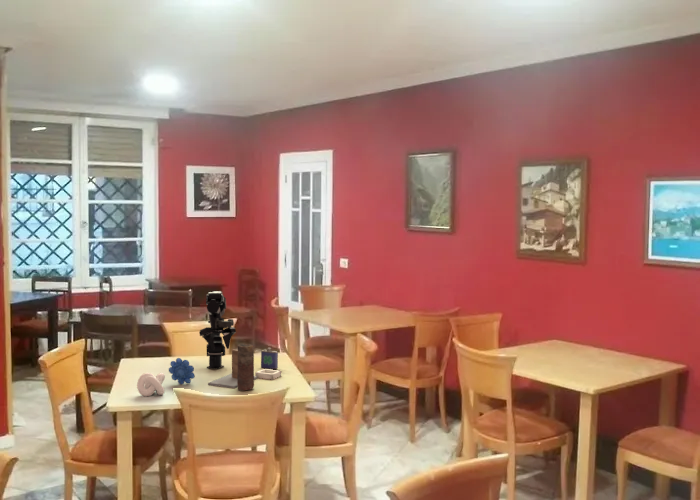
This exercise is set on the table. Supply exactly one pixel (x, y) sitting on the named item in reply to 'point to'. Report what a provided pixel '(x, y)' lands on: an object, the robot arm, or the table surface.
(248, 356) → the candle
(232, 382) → the serving board
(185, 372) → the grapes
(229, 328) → the robot arm
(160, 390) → the pink knotted tube
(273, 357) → the flask
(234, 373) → the brown wooden block
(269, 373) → the socket frame
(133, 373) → the table surface
